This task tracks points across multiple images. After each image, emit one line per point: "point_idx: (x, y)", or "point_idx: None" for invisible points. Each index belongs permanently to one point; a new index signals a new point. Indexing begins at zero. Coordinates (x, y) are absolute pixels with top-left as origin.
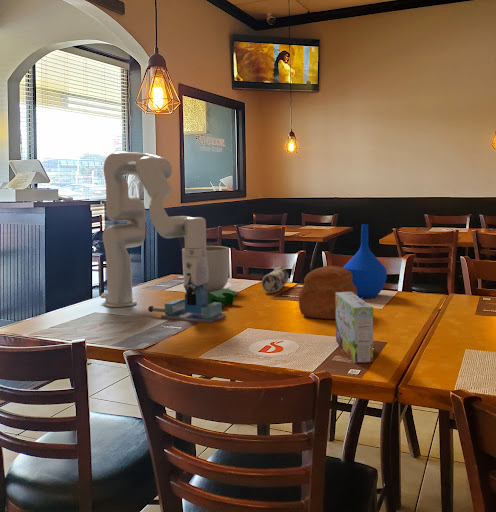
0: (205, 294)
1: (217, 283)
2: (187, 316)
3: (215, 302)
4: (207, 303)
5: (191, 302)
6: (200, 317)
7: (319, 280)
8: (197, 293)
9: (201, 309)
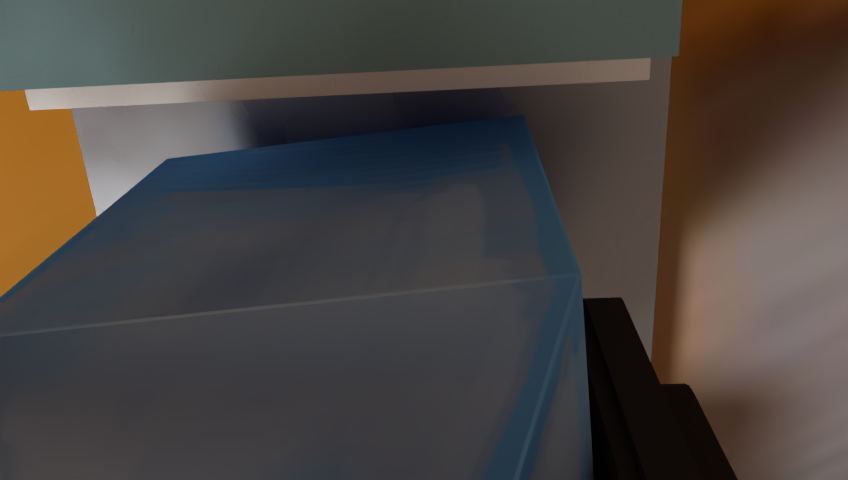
0: (176, 308)
1: None
2: None
3: (3, 26)
4: (148, 203)
5: (686, 394)
6: (551, 97)
7: None
8: (566, 460)
9: (518, 138)
